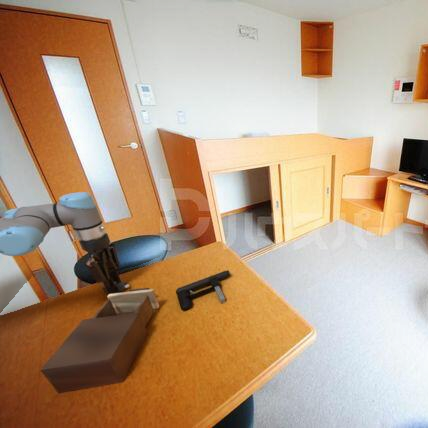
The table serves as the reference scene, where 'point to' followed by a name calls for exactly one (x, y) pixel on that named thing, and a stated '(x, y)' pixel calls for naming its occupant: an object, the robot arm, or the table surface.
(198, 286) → the black clamp
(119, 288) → the box cutter
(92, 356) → the cabinet
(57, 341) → the table surface
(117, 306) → the drawer
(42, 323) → the table surface
